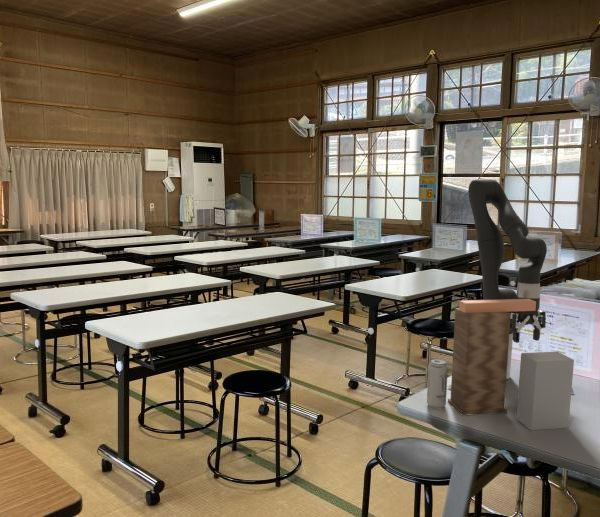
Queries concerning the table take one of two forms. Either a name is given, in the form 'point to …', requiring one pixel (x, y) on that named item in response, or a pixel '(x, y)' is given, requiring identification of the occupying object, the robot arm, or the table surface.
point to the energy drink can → (437, 384)
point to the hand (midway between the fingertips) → (526, 341)
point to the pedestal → (480, 362)
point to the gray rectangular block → (545, 390)
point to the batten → (497, 305)
